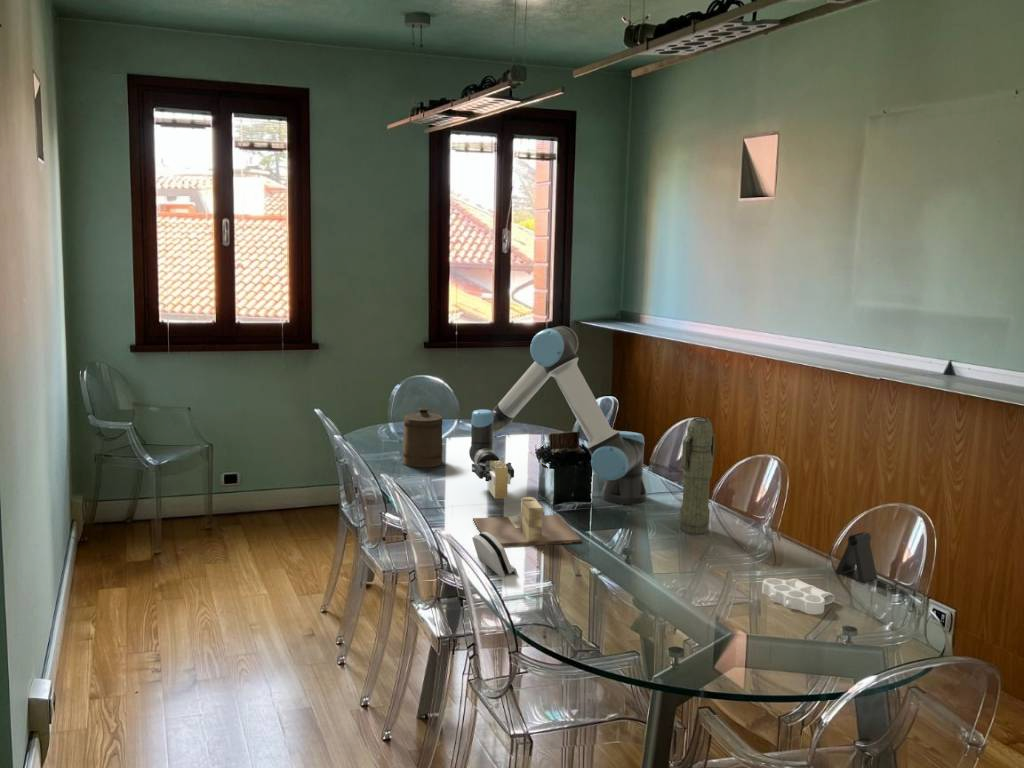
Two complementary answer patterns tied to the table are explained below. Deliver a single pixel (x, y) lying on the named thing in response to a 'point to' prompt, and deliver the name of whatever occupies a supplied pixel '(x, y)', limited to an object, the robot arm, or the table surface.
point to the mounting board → (516, 537)
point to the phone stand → (858, 559)
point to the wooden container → (422, 439)
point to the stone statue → (697, 476)
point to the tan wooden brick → (499, 479)
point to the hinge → (492, 554)
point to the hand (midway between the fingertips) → (502, 480)
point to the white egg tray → (797, 595)
